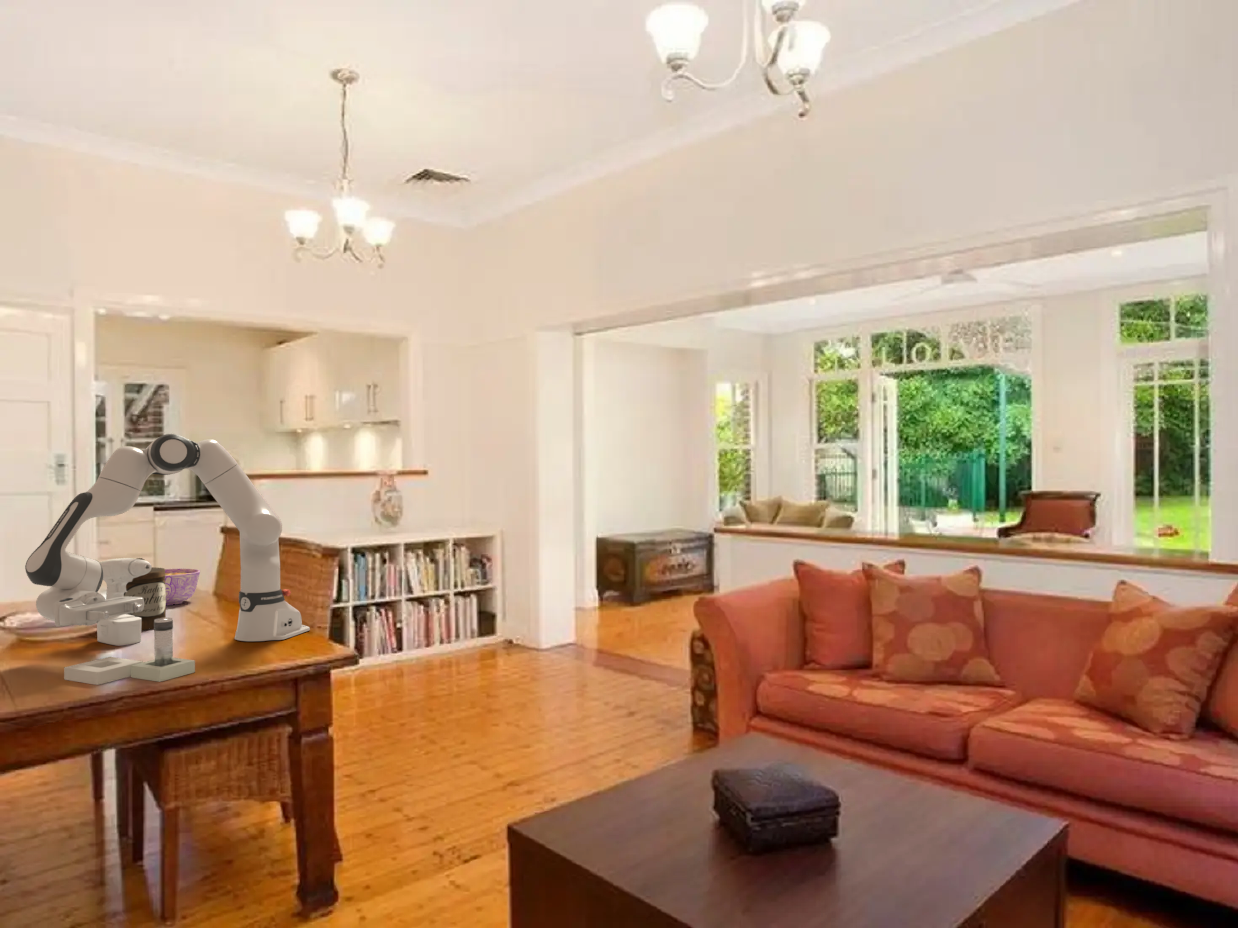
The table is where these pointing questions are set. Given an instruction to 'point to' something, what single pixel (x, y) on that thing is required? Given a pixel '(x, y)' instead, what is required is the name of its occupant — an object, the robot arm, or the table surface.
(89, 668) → the socket block
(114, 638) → the power drill
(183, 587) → the bowl of food
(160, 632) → the clear capped tube
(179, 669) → the block
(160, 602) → the brown cylinder
